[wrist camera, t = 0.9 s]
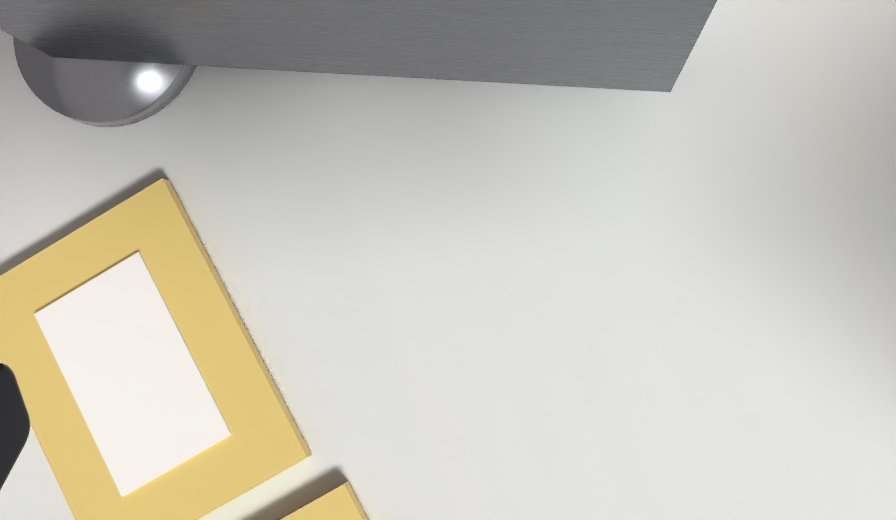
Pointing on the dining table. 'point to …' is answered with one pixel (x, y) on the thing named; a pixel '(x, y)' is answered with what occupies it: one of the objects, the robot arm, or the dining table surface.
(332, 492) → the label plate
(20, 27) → the gray rectangular panel
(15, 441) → the robot arm
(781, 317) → the dining table surface
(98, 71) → the flange
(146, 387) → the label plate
